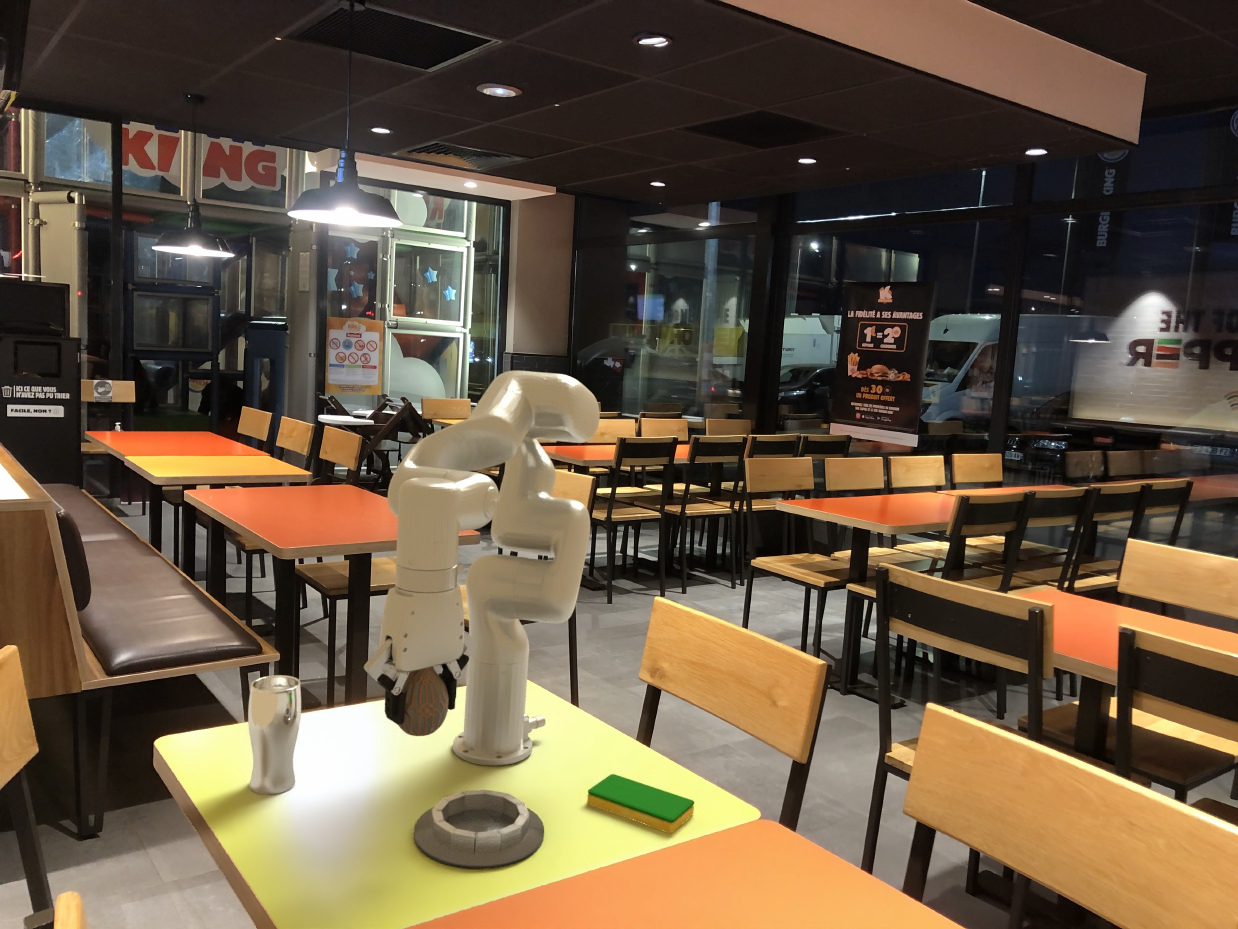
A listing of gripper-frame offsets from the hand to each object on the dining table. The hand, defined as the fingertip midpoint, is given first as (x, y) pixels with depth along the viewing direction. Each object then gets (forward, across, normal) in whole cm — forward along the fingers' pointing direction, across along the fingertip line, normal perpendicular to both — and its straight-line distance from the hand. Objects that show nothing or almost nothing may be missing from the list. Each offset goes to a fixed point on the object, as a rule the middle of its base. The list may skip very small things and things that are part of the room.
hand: (420, 712), depth 118 cm
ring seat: (+17, -7, +4) cm, 19 cm away
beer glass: (+18, +8, -24) cm, 31 cm away
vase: (+3, 0, 0) cm, 3 cm away
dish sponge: (+18, -29, +12) cm, 37 cm away
